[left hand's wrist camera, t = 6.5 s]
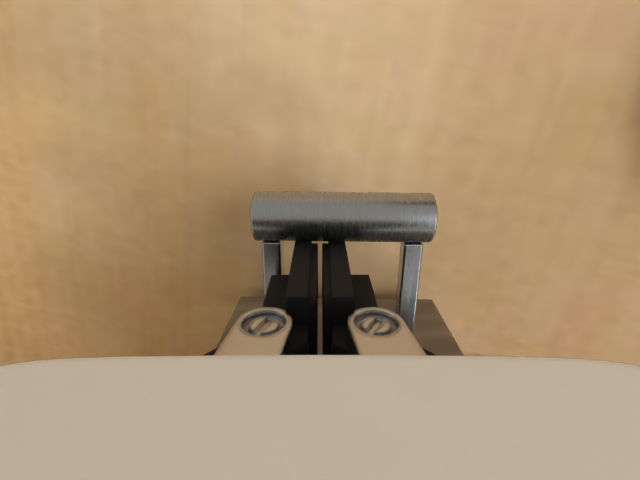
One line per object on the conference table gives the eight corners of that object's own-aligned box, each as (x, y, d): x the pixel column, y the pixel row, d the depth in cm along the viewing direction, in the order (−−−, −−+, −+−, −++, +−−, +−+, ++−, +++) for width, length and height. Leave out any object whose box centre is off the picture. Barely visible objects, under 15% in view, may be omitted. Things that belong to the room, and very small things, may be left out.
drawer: (231, 170, 15) (89, 247, 6) (447, 172, 15) (627, 254, 6) (257, 519, 22) (210, 792, 13) (404, 523, 22) (457, 802, 13)
